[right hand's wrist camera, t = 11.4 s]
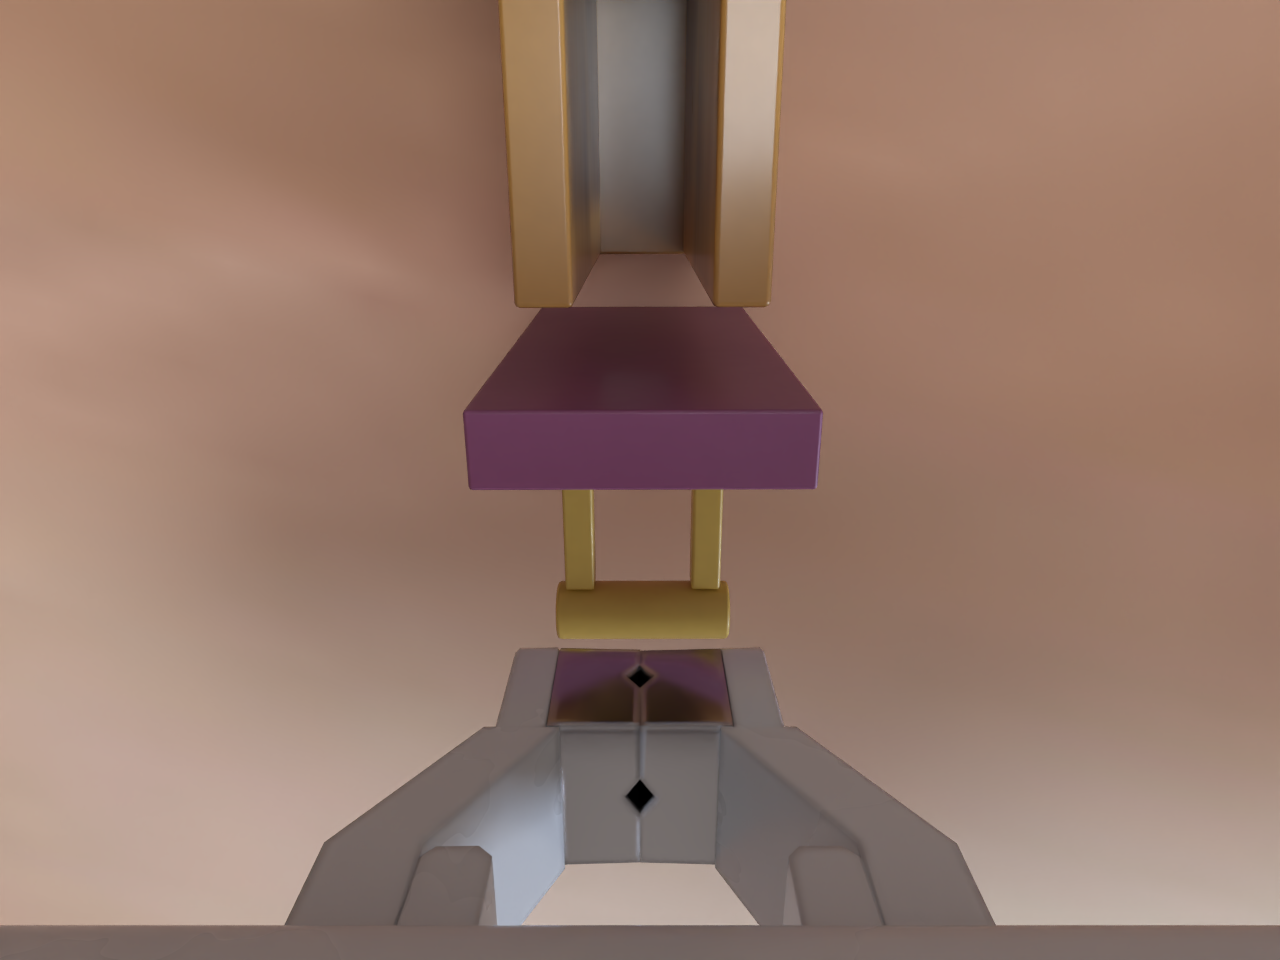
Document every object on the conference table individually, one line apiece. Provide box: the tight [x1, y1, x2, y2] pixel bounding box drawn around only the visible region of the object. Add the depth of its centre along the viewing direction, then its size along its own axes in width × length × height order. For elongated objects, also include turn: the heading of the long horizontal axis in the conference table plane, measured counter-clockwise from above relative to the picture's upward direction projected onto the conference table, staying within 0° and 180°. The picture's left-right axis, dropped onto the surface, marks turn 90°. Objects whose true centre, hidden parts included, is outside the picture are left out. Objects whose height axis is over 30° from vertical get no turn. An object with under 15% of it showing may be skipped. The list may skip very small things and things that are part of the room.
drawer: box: [463, 0, 823, 639], centre depth 14 cm, size 23×5×10 cm, turn 0°
